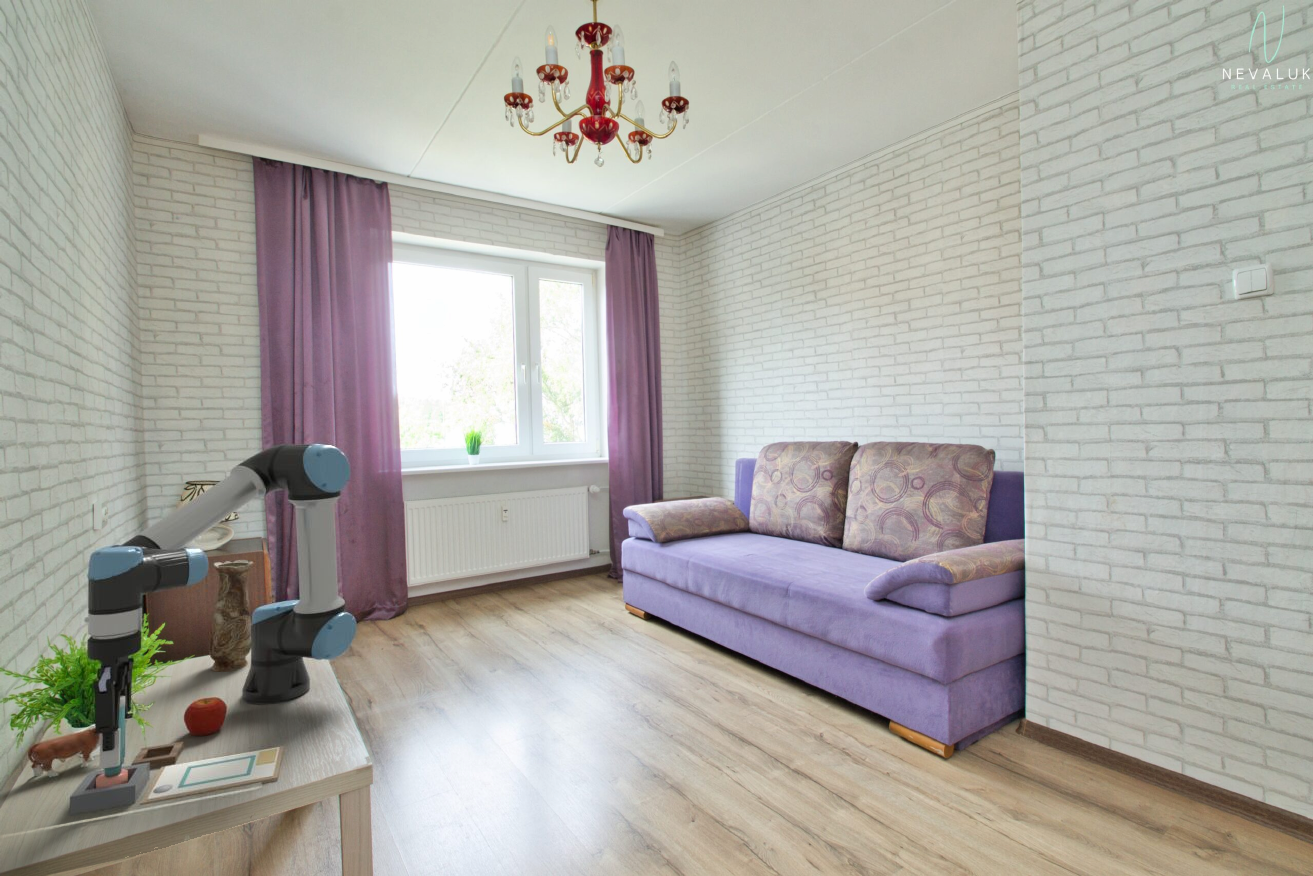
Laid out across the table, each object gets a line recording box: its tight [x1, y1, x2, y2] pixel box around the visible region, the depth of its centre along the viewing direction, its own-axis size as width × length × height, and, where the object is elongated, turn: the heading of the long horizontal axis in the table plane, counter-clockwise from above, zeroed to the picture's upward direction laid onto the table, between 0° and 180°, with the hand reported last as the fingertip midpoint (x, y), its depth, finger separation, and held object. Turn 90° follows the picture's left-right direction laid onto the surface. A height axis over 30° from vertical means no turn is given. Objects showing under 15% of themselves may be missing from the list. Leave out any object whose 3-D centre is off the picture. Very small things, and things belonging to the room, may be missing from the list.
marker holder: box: [130, 741, 184, 769], centre depth 129 cm, size 7×7×2 cm
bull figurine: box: [27, 723, 100, 778], centre depth 126 cm, size 4×13×8 cm, turn 138°
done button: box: [96, 769, 128, 788], centre depth 116 cm, size 4×4×3 cm
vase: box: [208, 559, 254, 672], centre depth 184 cm, size 10×11×30 cm
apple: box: [183, 696, 228, 737], centre depth 142 cm, size 8×8×8 cm
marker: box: [102, 696, 126, 777], centre depth 116 cm, size 3×3×14 cm
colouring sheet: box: [140, 745, 285, 805], centre depth 124 cm, size 14×21×1 cm, turn 116°
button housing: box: [69, 762, 151, 816], centre depth 116 cm, size 9×9×4 cm
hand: (113, 761), depth 116 cm, fingers closed on marker, 3 cm apart
